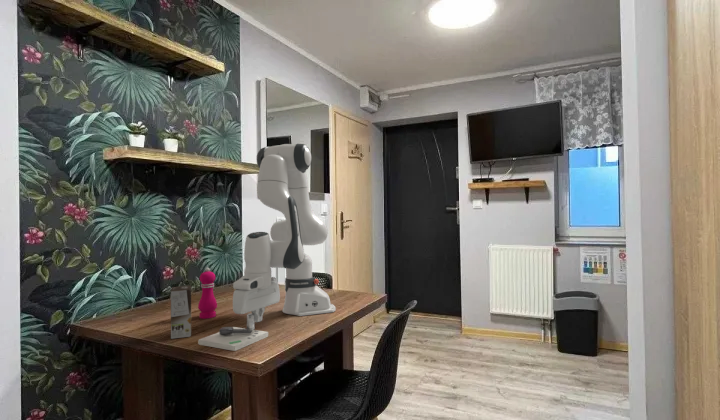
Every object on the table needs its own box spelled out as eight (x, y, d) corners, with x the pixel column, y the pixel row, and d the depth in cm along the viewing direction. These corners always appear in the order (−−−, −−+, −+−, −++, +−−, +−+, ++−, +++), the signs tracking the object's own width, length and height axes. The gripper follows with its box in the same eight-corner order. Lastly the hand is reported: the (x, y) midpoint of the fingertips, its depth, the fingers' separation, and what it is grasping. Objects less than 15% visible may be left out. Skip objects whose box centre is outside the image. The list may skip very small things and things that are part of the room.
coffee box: (191, 336, 131) (191, 289, 131) (170, 339, 128) (170, 290, 129) (191, 329, 139) (191, 285, 140) (171, 332, 137) (171, 286, 137)
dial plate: (233, 331, 137) (233, 326, 137) (268, 336, 130) (268, 331, 130) (198, 344, 123) (198, 339, 123) (235, 351, 116) (235, 345, 116)
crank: (217, 335, 125) (217, 316, 125) (221, 331, 130) (221, 313, 130) (252, 334, 126) (252, 315, 126) (256, 330, 130) (255, 312, 130)
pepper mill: (220, 314, 161) (220, 266, 161) (212, 319, 153) (211, 268, 154) (203, 314, 161) (203, 266, 162) (194, 318, 154) (194, 268, 155)
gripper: (269, 275, 141) (270, 313, 141) (229, 284, 123) (229, 328, 122) (284, 276, 139) (284, 315, 138) (244, 285, 120) (244, 330, 120)
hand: (258, 321), depth 130 cm, fingers closed
